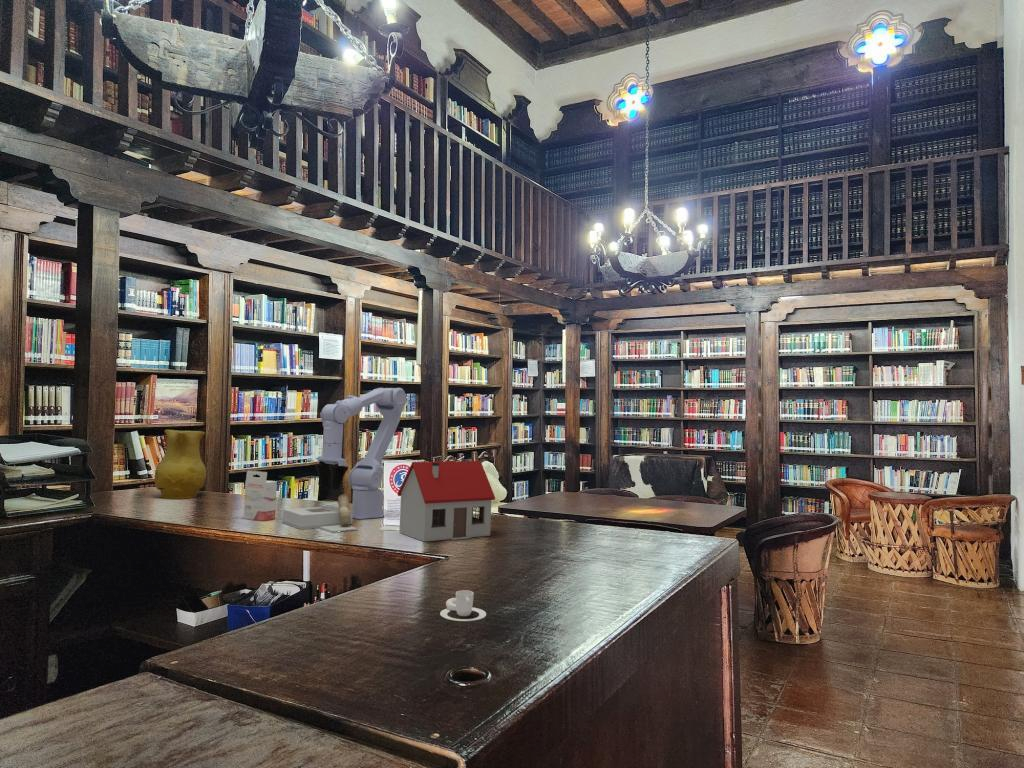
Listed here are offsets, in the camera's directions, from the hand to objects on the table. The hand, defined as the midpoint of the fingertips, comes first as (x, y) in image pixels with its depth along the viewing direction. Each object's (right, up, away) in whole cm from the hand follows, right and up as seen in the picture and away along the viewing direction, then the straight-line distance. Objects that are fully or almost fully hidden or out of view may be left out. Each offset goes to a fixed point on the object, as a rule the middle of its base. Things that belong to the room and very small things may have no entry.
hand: (329, 488), depth 199 cm
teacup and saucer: (+49, -9, -84) cm, 97 cm away
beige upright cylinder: (+7, -9, -10) cm, 15 cm away
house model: (+36, -12, -13) cm, 40 cm away
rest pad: (+6, -10, -11) cm, 16 cm away
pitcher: (-68, -10, +44) cm, 81 cm away
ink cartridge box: (-22, -10, +2) cm, 24 cm away
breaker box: (-3, -10, -3) cm, 11 cm away
